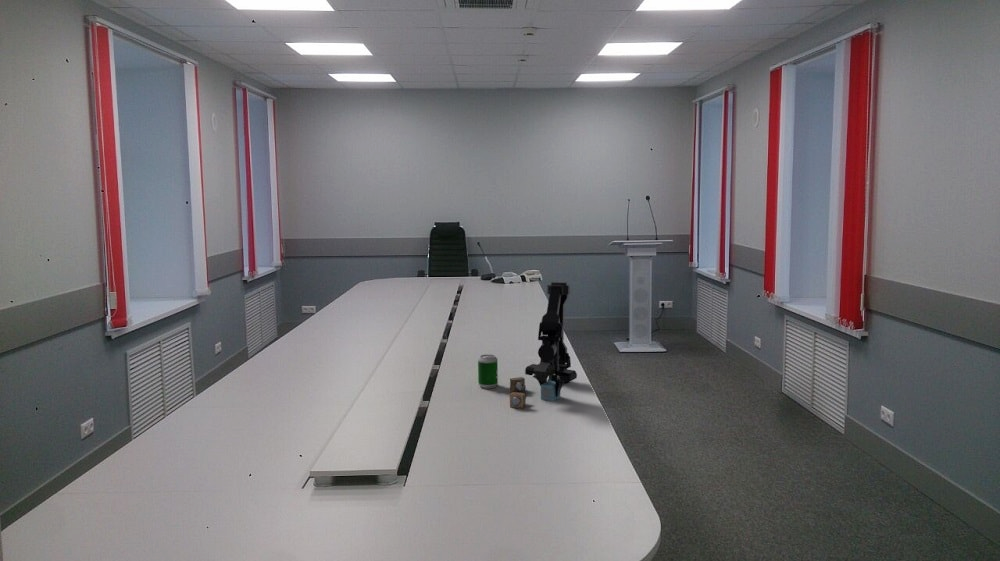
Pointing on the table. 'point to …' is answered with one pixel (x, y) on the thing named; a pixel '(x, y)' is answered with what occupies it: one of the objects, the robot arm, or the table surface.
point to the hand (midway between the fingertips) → (550, 395)
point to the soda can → (487, 371)
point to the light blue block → (549, 391)
